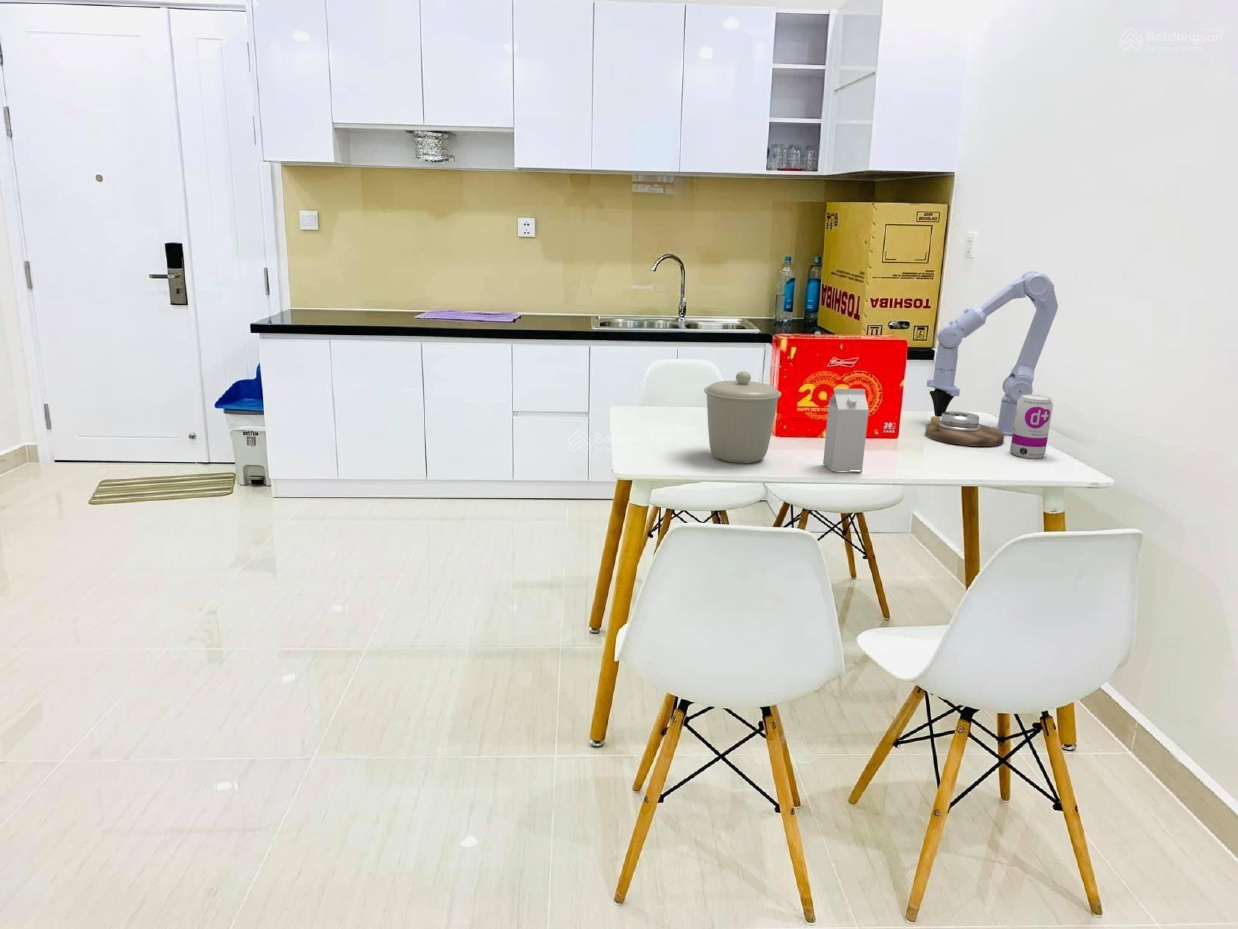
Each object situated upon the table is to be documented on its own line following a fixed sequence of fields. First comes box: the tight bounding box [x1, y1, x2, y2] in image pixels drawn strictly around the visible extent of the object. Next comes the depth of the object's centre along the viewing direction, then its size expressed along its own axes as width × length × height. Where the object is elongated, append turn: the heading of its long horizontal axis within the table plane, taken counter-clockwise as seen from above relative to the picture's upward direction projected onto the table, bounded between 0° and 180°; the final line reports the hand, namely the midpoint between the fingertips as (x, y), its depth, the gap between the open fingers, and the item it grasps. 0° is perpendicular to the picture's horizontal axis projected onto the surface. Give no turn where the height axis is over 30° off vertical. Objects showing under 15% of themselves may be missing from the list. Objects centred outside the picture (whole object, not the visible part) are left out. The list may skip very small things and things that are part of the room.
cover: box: [940, 410, 981, 432], centre depth 249 cm, size 11×11×4 cm
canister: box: [703, 371, 782, 463], centre depth 217 cm, size 18×18×21 cm
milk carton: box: [822, 388, 869, 472], centre depth 211 cm, size 7×7×19 cm
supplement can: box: [1009, 394, 1054, 460], centre depth 230 cm, size 8×8×15 cm
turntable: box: [925, 415, 1005, 447], centre depth 247 cm, size 20×20×6 cm
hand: (939, 416), depth 260 cm, fingers closed
